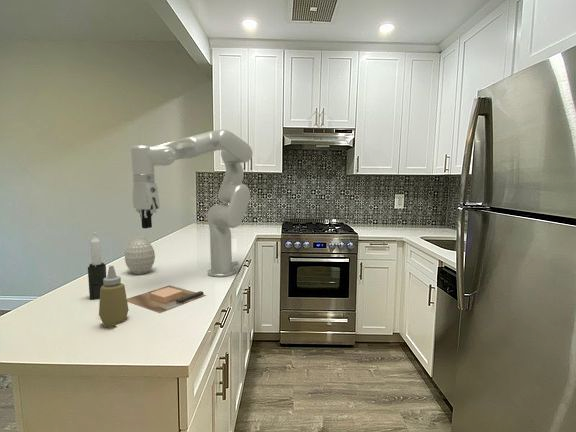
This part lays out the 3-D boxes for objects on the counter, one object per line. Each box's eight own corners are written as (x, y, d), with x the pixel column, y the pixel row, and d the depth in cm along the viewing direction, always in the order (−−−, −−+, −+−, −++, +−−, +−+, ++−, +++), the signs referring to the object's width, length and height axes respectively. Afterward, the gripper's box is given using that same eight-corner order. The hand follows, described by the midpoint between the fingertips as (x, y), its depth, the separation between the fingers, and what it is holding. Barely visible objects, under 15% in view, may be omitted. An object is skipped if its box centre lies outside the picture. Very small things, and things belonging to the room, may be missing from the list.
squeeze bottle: (121, 316, 112) (118, 261, 110) (134, 323, 107) (131, 265, 104) (95, 324, 106) (91, 266, 103) (106, 332, 100) (103, 271, 98)
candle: (89, 303, 123) (84, 233, 120) (93, 298, 128) (88, 231, 125) (105, 302, 124) (100, 232, 121) (108, 297, 129) (104, 230, 126)
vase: (155, 274, 158) (154, 238, 156) (124, 277, 153) (122, 240, 151) (155, 267, 170) (153, 234, 168) (126, 270, 165) (124, 235, 163)
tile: (168, 287, 130) (182, 290, 126) (168, 292, 130) (182, 296, 126) (149, 292, 123) (163, 297, 119) (149, 299, 124) (164, 303, 119)
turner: (197, 292, 130) (197, 290, 130) (206, 295, 128) (206, 292, 128) (158, 307, 116) (158, 304, 116) (167, 310, 114) (167, 307, 114)
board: (169, 288, 139) (169, 285, 139) (206, 298, 128) (206, 295, 128) (122, 303, 123) (122, 300, 123) (160, 316, 111) (159, 313, 111)
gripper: (165, 179, 129) (168, 228, 131) (140, 178, 137) (143, 225, 139) (148, 179, 123) (151, 231, 125) (122, 179, 130) (126, 227, 133)
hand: (147, 227), depth 132 cm, fingers closed
